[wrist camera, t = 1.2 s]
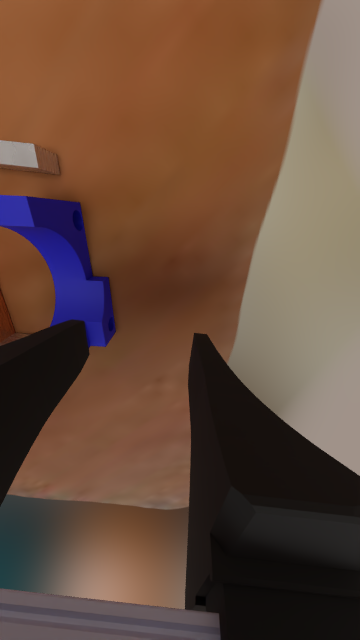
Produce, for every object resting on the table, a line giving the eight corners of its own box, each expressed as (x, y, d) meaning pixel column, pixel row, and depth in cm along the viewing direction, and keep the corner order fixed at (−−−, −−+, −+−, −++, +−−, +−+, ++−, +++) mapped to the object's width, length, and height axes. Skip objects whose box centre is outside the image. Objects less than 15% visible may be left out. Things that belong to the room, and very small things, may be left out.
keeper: (8, 340, 23) (-17, 356, 20) (-68, 140, 14) (-127, 124, 12) (87, 349, 23) (73, 366, 20) (57, 154, 14) (26, 140, 12)
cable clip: (116, 330, 22) (91, 367, 16) (76, 328, 22) (38, 364, 16) (99, 203, 16) (53, 197, 11) (44, 201, 16) (-28, 194, 11)
